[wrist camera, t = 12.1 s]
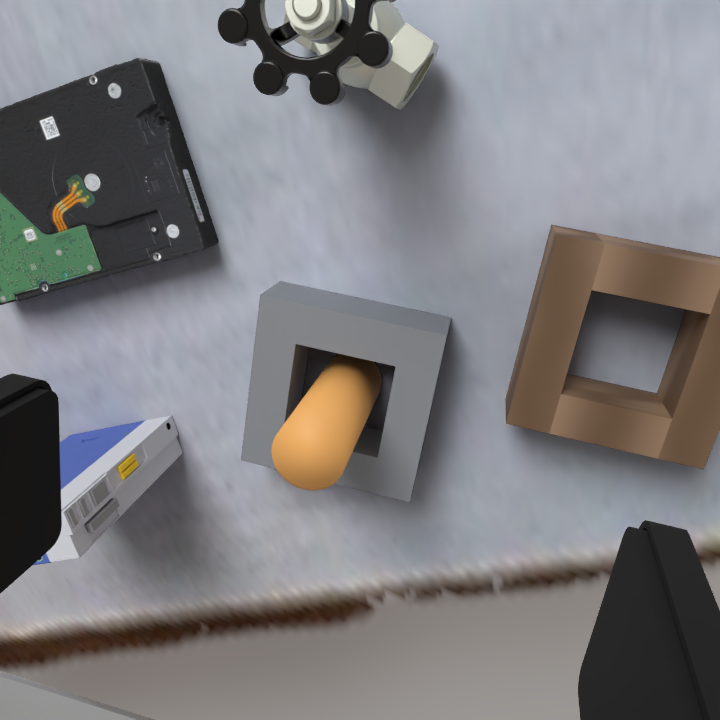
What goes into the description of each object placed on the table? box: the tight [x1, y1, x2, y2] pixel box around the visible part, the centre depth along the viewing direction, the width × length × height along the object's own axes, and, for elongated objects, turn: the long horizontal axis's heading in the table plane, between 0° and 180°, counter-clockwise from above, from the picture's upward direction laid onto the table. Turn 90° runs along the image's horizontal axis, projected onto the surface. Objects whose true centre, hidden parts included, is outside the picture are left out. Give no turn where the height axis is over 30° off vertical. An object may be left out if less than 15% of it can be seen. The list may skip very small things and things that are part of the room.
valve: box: [218, 0, 438, 110], centre depth 29 cm, size 7×7×12 cm
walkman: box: [33, 415, 183, 565], centre depth 39 cm, size 8×3×12 cm, turn 105°
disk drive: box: [0, 58, 218, 305], centre depth 39 cm, size 10×3×15 cm
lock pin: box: [271, 354, 382, 490], centre depth 35 cm, size 4×4×10 cm
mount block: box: [506, 225, 720, 469], centre depth 35 cm, size 10×10×4 cm
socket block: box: [241, 281, 451, 502], centre depth 38 cm, size 10×10×4 cm
